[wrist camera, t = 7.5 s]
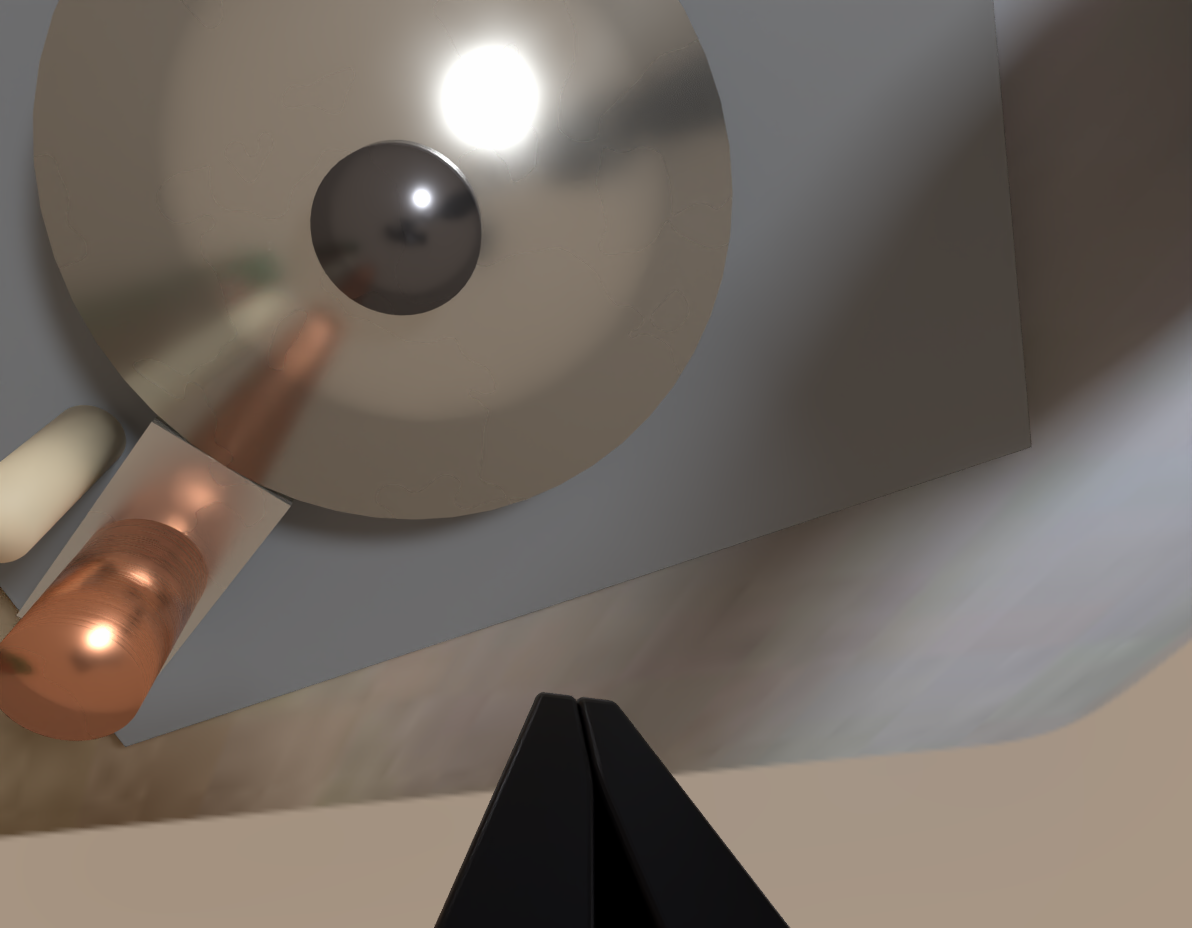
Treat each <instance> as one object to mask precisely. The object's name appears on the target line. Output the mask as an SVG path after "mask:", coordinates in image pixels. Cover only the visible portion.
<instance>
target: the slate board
mask: <svg viewBox="0 0 1192 928" xmlns="http://www.w3.org/2000/svg"><path fill="white" fill-rule="evenodd" d="M58 1H59V0H0V587H1V588H2V589H3V590H4V592H5V593H6V594H7V596H8V597H9V598H10V599H11V601H12V602H13V603H14V605H15V606H16V607H17V608H18V610H19V611H20V610H21V608H22V607H23V605H24V604H25V603H26V601H27V600H28V598H29V597H30V595H31V594H32V593H33V591H34V590H35V588H36V587H37V585H38V584H39V582H40V581H41V580H42V578H43V577H44V575H45V574H46V572H47V571H48V570H49V568H50V567H51V565H52V564H53V562H54V561H55V560H56V558H57V557H58V555H59V554H60V552H61V551H62V550H63V548H64V547H65V545H66V544H67V542H68V541H69V539H70V538H71V537H72V535H73V534H74V532H75V531H76V529H77V528H78V527H79V525H80V524H81V522H82V521H83V519H84V518H85V517H86V515H87V514H88V512H89V511H90V509H91V508H92V507H93V505H94V504H95V502H96V501H97V499H98V498H99V496H100V495H101V494H102V492H103V491H104V489H105V488H106V486H107V485H108V484H109V482H110V481H111V479H112V478H113V476H114V475H115V474H116V472H117V471H118V469H119V468H120V466H121V465H122V464H123V462H124V461H125V459H126V458H127V456H128V455H129V454H130V452H131V451H132V449H133V448H134V446H135V445H136V443H137V442H138V441H139V439H140V438H141V436H142V435H143V433H144V432H145V431H146V429H147V428H148V426H149V425H150V423H151V422H152V421H153V420H154V419H155V418H156V417H157V416H158V415H157V414H156V413H155V412H154V411H153V410H152V409H151V408H150V407H149V406H148V405H147V404H146V403H145V402H144V401H143V399H142V398H141V397H140V396H139V395H138V394H137V393H136V392H135V391H134V390H133V389H132V388H131V387H130V386H129V384H128V383H127V382H126V381H125V380H124V379H123V378H122V376H121V375H120V374H119V372H118V371H117V370H116V368H115V367H114V365H113V364H112V363H111V361H110V360H109V359H108V357H107V356H106V355H105V353H104V352H103V351H102V349H101V348H100V347H99V345H98V344H97V342H96V341H95V339H94V337H93V336H92V334H91V332H90V330H89V329H88V327H87V325H86V323H85V322H84V320H83V318H82V316H81V315H80V313H79V311H78V309H77V308H76V306H75V304H74V302H73V300H72V298H71V296H70V293H69V291H68V289H67V286H66V284H65V282H64V279H63V277H62V274H61V272H60V270H59V267H58V265H57V263H56V260H55V258H54V255H53V251H52V248H51V244H50V241H49V237H48V234H47V230H46V227H45V223H44V220H43V216H42V213H41V208H40V201H39V194H38V188H37V181H36V174H35V168H34V153H33V108H34V100H35V92H36V84H37V76H38V69H39V61H40V58H41V54H42V51H43V47H44V44H45V40H46V37H47V33H48V30H49V26H50V23H51V19H52V15H53V12H54V10H55V8H56V6H57V4H58ZM679 2H680V3H681V5H682V7H683V8H684V10H685V12H686V14H687V16H688V18H689V20H690V22H691V25H692V27H693V29H694V31H695V33H696V35H697V37H698V39H699V42H700V44H701V46H702V48H703V50H704V52H705V54H706V57H707V60H708V63H709V66H710V69H711V72H712V76H713V79H714V82H715V85H716V88H717V91H718V94H719V97H720V100H721V105H722V110H723V115H724V120H725V125H726V131H727V136H728V141H729V146H730V160H731V175H732V190H733V195H732V213H731V230H730V240H729V245H728V251H727V256H726V262H725V267H724V273H723V278H722V281H721V284H720V287H719V291H718V294H717V297H716V300H715V303H714V307H713V310H712V313H711V316H710V319H709V321H708V323H707V325H706V327H705V330H704V332H703V334H702V336H701V338H700V341H699V343H698V345H697V347H696V349H695V352H694V354H693V355H692V357H691V359H690V360H689V362H688V363H687V365H686V367H685V368H684V370H683V372H682V373H681V375H680V376H679V378H678V380H677V381H676V383H675V385H674V386H673V388H672V389H671V390H670V391H669V393H668V394H667V395H666V396H665V398H664V399H663V400H662V401H661V403H660V404H659V405H658V406H657V408H656V409H655V410H654V411H653V413H652V414H651V415H650V416H649V417H648V418H647V419H646V420H645V421H644V422H643V423H642V424H641V425H640V426H639V427H638V428H637V429H636V430H635V431H634V432H633V433H632V434H631V435H630V436H629V437H628V438H627V439H626V440H625V441H624V442H623V443H622V444H620V445H619V446H618V447H617V448H615V449H614V450H613V451H611V452H610V453H609V454H607V455H606V456H605V457H603V458H602V459H601V460H599V461H598V462H597V463H596V464H594V465H593V466H591V467H590V468H588V469H586V470H585V471H583V472H581V473H579V474H578V475H576V476H574V477H573V478H571V479H569V480H568V481H566V482H564V483H562V484H561V485H559V486H556V487H554V488H552V489H549V490H547V491H545V492H543V493H540V494H538V495H536V496H533V497H531V498H529V499H527V500H523V501H520V502H517V503H514V504H510V505H507V506H504V507H500V508H497V509H494V510H490V511H485V512H479V513H474V514H468V515H463V516H457V517H448V518H432V519H416V520H414V519H394V518H376V517H369V516H363V515H357V514H351V513H345V512H339V511H335V510H331V509H327V508H324V507H320V506H317V505H313V504H310V503H306V502H302V501H299V500H296V499H294V501H293V503H292V505H291V507H290V508H289V509H288V511H287V512H286V513H285V514H284V516H283V517H282V518H281V519H280V521H279V522H278V523H277V525H276V526H275V527H274V528H273V530H272V531H271V532H270V533H269V535H268V536H267V537H266V539H265V540H264V541H263V542H262V544H261V545H260V546H259V548H258V549H257V550H256V551H255V553H254V554H253V555H252V556H251V558H250V559H249V560H248V562H247V563H246V564H245V565H244V567H243V568H242V569H241V570H240V572H239V573H238V574H237V576H236V577H235V578H234V579H233V581H232V582H231V583H230V584H229V586H228V587H227V588H226V590H225V591H224V592H223V593H222V595H221V596H220V597H219V599H218V600H217V601H216V602H215V604H214V605H213V606H212V607H211V609H210V610H209V611H208V613H207V614H206V615H205V616H204V618H203V619H202V620H201V621H200V623H199V624H198V625H197V627H196V628H195V629H194V630H193V632H192V633H191V634H190V635H189V637H188V638H187V639H186V641H185V642H184V643H183V644H182V646H181V647H180V648H179V650H178V651H177V652H176V653H175V655H174V656H173V657H172V658H171V660H170V661H169V662H168V664H167V665H166V666H165V667H164V669H163V670H162V671H161V672H160V674H159V675H158V676H157V678H156V680H155V681H154V683H153V685H152V687H151V689H150V690H149V692H148V694H147V696H146V698H145V699H144V701H143V703H142V705H141V707H140V708H139V710H138V712H137V713H136V715H135V717H134V718H133V719H132V720H131V721H130V722H129V723H128V724H127V725H126V726H124V727H123V728H122V729H120V730H118V731H117V732H115V734H116V736H117V737H118V738H119V740H120V741H121V742H122V743H123V745H124V746H125V747H127V746H130V745H133V744H136V743H139V742H142V741H145V740H148V739H151V738H154V737H157V736H160V735H163V734H166V733H169V732H172V731H175V730H178V729H181V728H184V727H187V726H190V725H193V724H196V723H199V722H202V721H205V720H208V719H211V718H214V717H217V716H220V715H223V714H226V713H229V712H232V711H235V710H238V709H241V708H244V707H247V706H250V705H253V704H256V703H259V702H262V701H265V700H268V699H271V698H275V697H278V696H281V695H284V694H287V693H290V692H293V691H296V690H299V689H302V688H305V687H308V686H311V685H314V684H317V683H320V682H323V681H326V680H329V679H332V678H335V677H338V676H341V675H344V674H347V673H350V672H353V671H356V670H359V669H362V668H365V667H368V666H371V665H374V664H377V663H380V662H383V661H386V660H389V659H392V658H395V657H398V656H401V655H404V654H407V653H410V652H413V651H416V650H419V649H423V648H426V647H429V646H432V645H435V644H438V643H441V642H444V641H447V640H450V639H453V638H456V637H459V636H462V635H465V634H468V633H471V632H474V631H477V630H480V629H483V628H486V627H489V626H492V625H495V624H498V623H501V622H504V621H507V620H510V619H513V618H516V617H519V616H522V615H525V614H528V613H531V612H534V611H537V610H540V609H543V608H546V607H549V606H552V605H555V604H558V603H561V602H564V601H567V600H571V599H574V598H577V597H580V596H583V595H586V594H589V593H592V592H595V591H598V590H601V589H604V588H607V587H610V586H613V585H616V584H619V583H622V582H625V581H628V580H631V579H634V578H637V577H640V576H643V575H646V574H649V573H652V572H655V571H658V570H661V569H664V568H667V567H670V566H673V565H676V564H679V563H682V562H685V561H688V560H691V559H694V558H697V557H700V556H703V555H706V554H709V553H712V552H716V551H719V550H722V549H725V548H728V547H731V546H734V545H737V544H740V543H743V542H746V541H749V540H752V539H755V538H758V537H761V536H764V535H767V534H770V533H773V532H776V531H779V530H782V529H785V528H788V527H791V526H794V525H797V524H800V523H803V522H806V521H809V520H812V519H815V518H818V517H821V516H824V515H827V514H830V513H833V512H836V511H839V510H842V509H845V508H848V507H851V506H854V505H857V504H860V503H864V502H867V501H870V500H873V499H876V498H879V497H882V496H885V495H888V494H891V493H894V492H897V491H900V490H903V489H906V488H909V487H912V486H915V485H918V484H921V483H924V482H927V481H930V480H933V479H936V478H939V477H942V476H945V475H948V474H951V473H954V472H957V471H960V470H963V469H966V468H969V467H972V466H975V465H978V464H981V463H984V462H987V461H990V460H993V459H996V458H999V457H1002V456H1005V455H1008V454H1012V453H1015V452H1018V451H1021V450H1024V449H1027V448H1030V447H1031V436H1030V424H1029V412H1028V401H1027V389H1026V377H1025V366H1024V354H1023V342H1022V331H1021V319H1020V307H1019V295H1018V284H1017V272H1016V260H1015V249H1014V237H1013V225H1012V214H1011V202H1010V190H1009V179H1008V167H1007V155H1006V143H1005V132H1004V120H1003V108H1002V97H1001V85H1000V73H999V62H998V50H997V38H996V27H995V15H994V3H993V0H679Z"/></svg>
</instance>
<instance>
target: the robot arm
mask: <svg viewBox="0 0 1192 928" xmlns="http://www.w3.org/2000/svg"><path fill="white" fill-rule="evenodd" d="M434 928H790V927H789V926H788V925H787V923H786V922H785V921H784V919H783V918H782V917H781V916H780V914H779V913H778V912H777V910H776V909H775V908H774V906H773V905H772V904H771V903H770V901H769V900H768V899H767V897H765V895H764V894H763V892H762V891H761V890H760V888H759V887H758V886H757V884H756V883H755V882H754V881H753V879H752V878H751V877H750V875H749V874H748V873H747V872H746V870H745V869H744V868H743V866H742V865H741V864H740V862H739V861H738V860H737V859H736V857H735V856H734V855H733V853H732V852H731V851H730V850H729V848H728V847H727V846H726V844H725V843H724V842H723V841H722V839H721V838H720V837H719V835H718V834H717V833H716V831H715V830H714V829H713V828H712V826H711V825H710V824H709V822H708V821H707V820H706V819H705V817H704V816H703V815H702V813H701V812H700V811H699V809H698V808H697V807H696V806H695V804H694V803H693V802H692V800H691V799H690V798H689V797H688V795H687V794H686V793H685V791H684V790H683V789H682V788H681V786H680V785H679V784H678V782H677V781H676V780H675V778H674V777H673V776H672V774H671V773H670V772H669V771H668V769H667V768H666V767H665V765H664V764H663V763H662V762H661V760H660V759H659V758H658V756H657V755H656V754H655V752H654V751H653V750H652V749H651V747H650V746H649V745H648V743H647V742H646V741H645V740H644V738H643V737H642V736H641V734H640V733H639V732H638V730H637V729H636V728H635V727H634V725H633V724H632V723H631V721H630V720H629V719H628V718H627V716H626V715H625V714H624V712H623V711H622V710H621V708H620V707H619V706H618V705H617V704H616V703H614V702H613V701H610V700H602V699H594V698H586V697H581V698H580V699H578V700H577V701H576V699H574V698H573V697H572V696H569V695H561V694H553V693H545V692H542V693H539V694H538V695H537V696H536V698H535V701H534V703H533V705H532V707H531V710H530V712H529V714H528V716H527V719H526V721H525V723H524V725H523V728H522V730H521V732H520V734H519V737H518V739H517V741H516V744H515V746H514V748H513V750H512V753H511V755H510V757H509V759H508V762H507V764H506V766H505V768H504V771H503V773H502V775H501V777H500V780H499V782H498V784H497V787H496V789H495V791H494V793H493V796H492V798H491V800H490V803H489V805H488V807H487V809H486V811H485V814H484V816H483V818H482V821H481V823H480V825H479V827H478V830H477V832H476V834H475V837H474V839H473V841H472V843H471V846H470V848H469V850H468V852H467V855H466V857H465V859H464V862H463V864H462V866H461V868H460V870H459V873H458V875H457V877H456V879H455V882H454V884H453V886H452V888H451V891H450V893H449V895H448V898H447V900H446V902H445V904H444V907H443V909H442V911H441V913H440V916H439V918H438V920H437V922H436V925H435V927H434Z"/></svg>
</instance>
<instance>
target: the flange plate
mask: <svg viewBox="0 0 1192 928" xmlns="http://www.w3.org/2000/svg"><path fill="white" fill-rule="evenodd" d="M33 153H34V168H35V174H36V181H37V188H38V194H39V201H40V208H41V213H42V216H43V220H44V223H45V227H46V230H47V234H48V237H49V241H50V244H51V248H52V251H53V255H54V258H55V260H56V263H57V265H58V267H59V270H60V272H61V274H62V277H63V279H64V282H65V284H66V286H67V289H68V291H69V293H70V296H71V298H72V300H73V302H74V304H75V306H76V308H77V309H78V311H79V313H80V315H81V316H82V318H83V320H84V322H85V323H86V325H87V327H88V329H89V330H90V332H91V334H92V336H93V337H94V339H95V341H96V342H97V344H98V345H99V347H100V348H101V349H102V351H103V352H104V353H105V355H106V356H107V357H108V359H109V360H110V361H111V363H112V364H113V365H114V367H115V368H116V370H117V371H118V372H119V374H120V375H121V376H122V378H123V379H124V380H125V381H126V382H127V383H128V384H129V386H130V387H131V388H132V389H133V390H134V391H135V392H136V393H137V394H138V395H139V396H140V397H141V398H142V399H143V401H144V402H145V403H146V404H147V405H148V406H149V407H150V408H151V409H152V410H153V411H154V412H155V413H156V414H157V415H158V416H157V417H156V418H155V419H154V420H153V421H152V422H151V423H150V425H149V426H148V428H147V429H146V431H145V432H144V433H143V435H142V436H141V438H140V439H139V441H138V442H137V443H136V445H135V446H134V448H133V449H132V451H131V452H130V454H129V455H128V456H127V458H126V459H125V461H124V462H123V464H122V465H121V466H120V468H119V469H118V471H117V472H116V474H115V475H114V476H113V478H112V479H111V481H110V482H109V484H108V485H107V486H106V488H105V489H104V491H103V492H102V494H101V495H100V496H99V498H98V499H97V501H96V502H95V504H94V505H93V507H92V508H91V509H90V511H89V512H88V514H87V515H86V517H85V518H84V519H83V521H82V522H81V524H80V525H79V527H78V528H77V529H76V531H75V532H74V534H73V535H72V537H71V538H70V539H69V541H68V542H67V544H66V545H65V547H64V548H63V550H62V551H61V552H60V554H59V555H58V557H57V558H56V560H55V561H54V562H53V564H52V565H51V567H50V568H49V570H48V571H47V572H46V574H45V575H44V577H43V578H42V580H41V581H40V582H39V584H38V585H37V587H36V588H35V590H34V591H33V593H32V594H31V595H30V597H29V598H28V600H27V601H26V603H25V604H24V605H23V607H22V608H21V610H20V611H19V613H18V614H17V615H16V616H18V617H20V618H21V620H20V621H19V622H18V623H17V624H16V625H15V627H14V628H13V629H12V630H11V631H10V632H9V634H8V635H7V636H6V637H5V638H4V639H3V640H2V642H1V643H0V709H1V710H2V711H3V712H4V713H5V714H6V715H7V716H8V717H9V718H11V719H12V720H13V721H15V722H16V723H18V724H19V725H21V726H22V727H24V728H26V729H28V730H30V731H32V732H35V733H38V734H40V735H43V736H47V737H50V738H55V739H60V740H70V741H82V740H92V739H97V738H101V737H104V736H108V735H110V734H112V733H115V732H117V731H118V730H120V729H122V728H123V727H124V726H126V725H127V724H128V723H129V722H130V721H131V720H132V719H133V718H134V717H135V715H136V713H137V712H138V710H139V708H140V707H141V705H142V703H143V701H144V699H145V698H146V696H147V694H148V692H149V690H150V689H151V687H152V685H153V683H154V681H155V680H156V678H157V676H158V675H159V674H160V672H161V671H162V670H163V669H164V667H165V666H166V665H167V664H168V662H169V661H170V660H171V658H172V657H173V656H174V655H175V653H176V652H177V651H178V650H179V648H180V647H181V646H182V644H183V643H184V642H185V641H186V639H187V638H188V637H189V635H190V634H191V633H192V632H193V630H194V629H195V628H196V627H197V625H198V624H199V623H200V621H201V620H202V619H203V618H204V616H205V615H206V614H207V613H208V611H209V610H210V609H211V607H212V606H213V605H214V604H215V602H216V601H217V600H218V599H219V597H220V596H221V595H222V593H223V592H224V591H225V590H226V588H227V587H228V586H229V584H230V583H231V582H232V581H233V579H234V578H235V577H236V576H237V574H238V573H239V572H240V570H241V569H242V568H243V567H244V565H245V564H246V563H247V562H248V560H249V559H250V558H251V556H252V555H253V554H254V553H255V551H256V550H257V549H258V548H259V546H260V545H261V544H262V542H263V541H264V540H265V539H266V537H267V536H268V535H269V533H270V532H271V531H272V530H273V528H274V527H275V526H276V525H277V523H278V522H279V521H280V519H281V518H282V517H283V516H284V514H285V513H286V512H287V511H288V509H289V508H290V507H291V505H292V503H293V501H294V499H296V500H299V501H302V502H306V503H310V504H313V505H317V506H320V507H324V508H327V509H331V510H335V511H339V512H345V513H351V514H357V515H363V516H369V517H376V518H394V519H414V520H416V519H432V518H448V517H457V516H463V515H468V514H474V513H479V512H485V511H490V510H494V509H497V508H500V507H504V506H507V505H510V504H514V503H517V502H520V501H523V500H527V499H529V498H531V497H533V496H536V495H538V494H540V493H543V492H545V491H547V490H549V489H552V488H554V487H556V486H559V485H561V484H562V483H564V482H566V481H568V480H569V479H571V478H573V477H574V476H576V475H578V474H579V473H581V472H583V471H585V470H586V469H588V468H590V467H591V466H593V465H594V464H596V463H597V462H598V461H599V460H601V459H602V458H603V457H605V456H606V455H607V454H609V453H610V452H611V451H613V450H614V449H615V448H617V447H618V446H619V445H620V444H622V443H623V442H624V441H625V440H626V439H627V438H628V437H629V436H630V435H631V434H632V433H633V432H634V431H635V430H636V429H637V428H638V427H639V426H640V425H641V424H642V423H643V422H644V421H645V420H646V419H647V418H648V417H649V416H650V415H651V414H652V413H653V411H654V410H655V409H656V408H657V406H658V405H659V404H660V403H661V401H662V400H663V399H664V398H665V396H666V395H667V394H668V393H669V391H670V390H671V389H672V388H673V386H674V385H675V383H676V381H677V380H678V378H679V376H680V375H681V373H682V372H683V370H684V368H685V367H686V365H687V363H688V362H689V360H690V359H691V357H692V355H693V354H694V352H695V349H696V347H697V345H698V343H699V341H700V338H701V336H702V334H703V332H704V330H705V327H706V325H707V323H708V321H709V319H710V316H711V313H712V310H713V307H714V303H715V300H716V297H717V294H718V291H719V287H720V284H721V281H722V278H723V273H724V267H725V262H726V256H727V251H728V245H729V240H730V230H731V213H732V195H733V190H732V175H731V160H730V146H729V141H728V136H727V131H726V125H725V120H724V115H723V110H722V105H721V100H720V97H719V94H718V91H717V88H716V85H715V82H714V79H713V76H712V72H711V69H710V66H709V63H708V60H707V57H706V54H705V52H704V50H703V48H702V46H701V44H700V42H699V39H698V37H697V35H696V33H695V31H694V29H693V27H692V25H691V22H690V20H689V18H688V16H687V14H686V12H685V10H684V8H683V7H682V5H681V3H680V2H679V0H59V1H58V4H57V6H56V8H55V10H54V12H53V15H52V19H51V23H50V26H49V30H48V33H47V37H46V40H45V44H44V47H43V51H42V54H41V58H40V61H39V69H38V76H37V84H36V92H35V100H34V108H33Z"/></svg>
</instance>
